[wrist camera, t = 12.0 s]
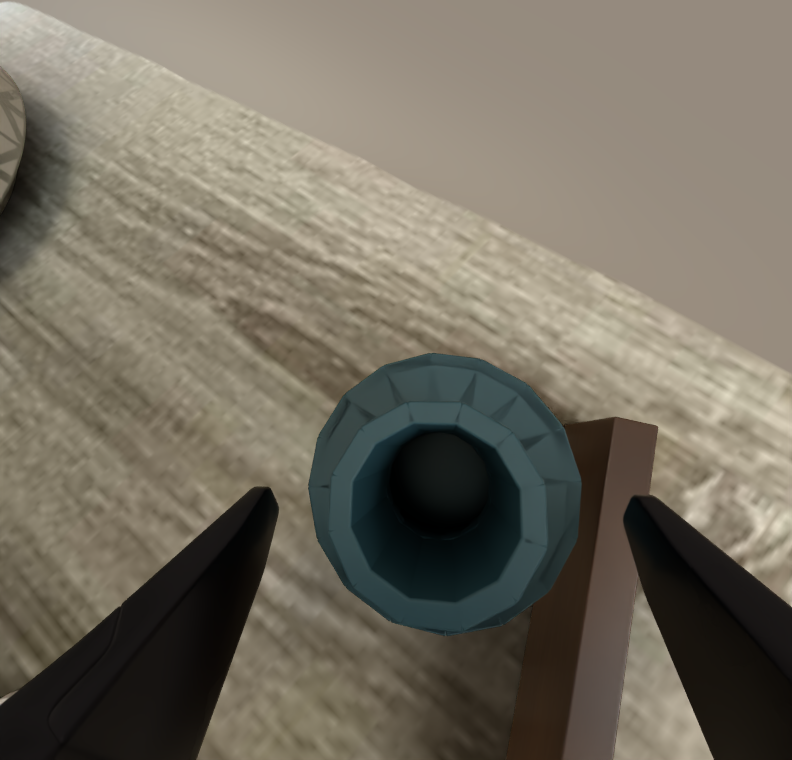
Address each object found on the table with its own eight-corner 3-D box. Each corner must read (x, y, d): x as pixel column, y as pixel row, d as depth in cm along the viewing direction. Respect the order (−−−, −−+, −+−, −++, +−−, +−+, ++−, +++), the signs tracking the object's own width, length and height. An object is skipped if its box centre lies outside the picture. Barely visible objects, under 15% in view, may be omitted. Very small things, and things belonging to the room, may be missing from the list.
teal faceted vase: (466, 559, 18) (527, 900, 4) (356, 483, 19) (154, 570, 6) (531, 442, 18) (760, 436, 5) (420, 378, 20) (368, 241, 6)
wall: (524, 862, 15) (569, 1093, 10) (490, 846, 15) (514, 1062, 10) (594, 431, 18) (659, 425, 12) (564, 424, 18) (614, 416, 13)
